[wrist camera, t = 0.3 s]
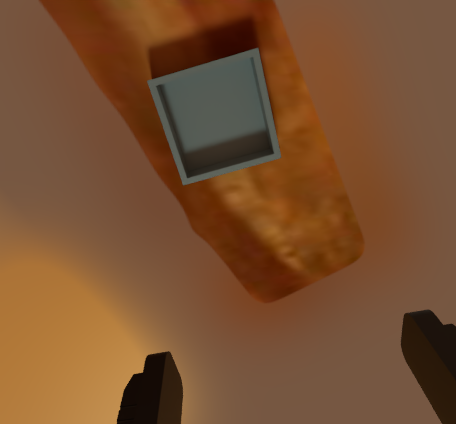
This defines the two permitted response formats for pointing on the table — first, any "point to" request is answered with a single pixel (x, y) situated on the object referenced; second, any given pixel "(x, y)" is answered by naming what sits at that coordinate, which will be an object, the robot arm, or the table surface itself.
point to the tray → (217, 116)
